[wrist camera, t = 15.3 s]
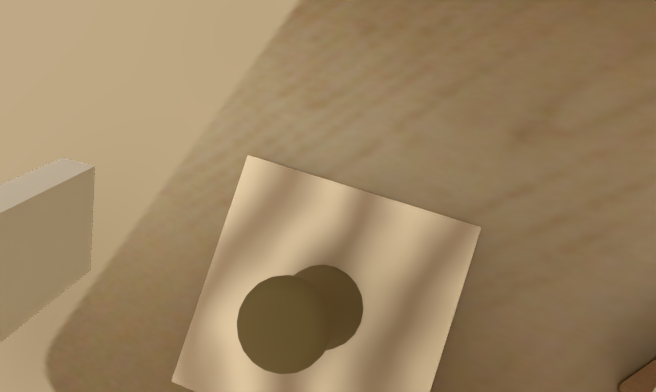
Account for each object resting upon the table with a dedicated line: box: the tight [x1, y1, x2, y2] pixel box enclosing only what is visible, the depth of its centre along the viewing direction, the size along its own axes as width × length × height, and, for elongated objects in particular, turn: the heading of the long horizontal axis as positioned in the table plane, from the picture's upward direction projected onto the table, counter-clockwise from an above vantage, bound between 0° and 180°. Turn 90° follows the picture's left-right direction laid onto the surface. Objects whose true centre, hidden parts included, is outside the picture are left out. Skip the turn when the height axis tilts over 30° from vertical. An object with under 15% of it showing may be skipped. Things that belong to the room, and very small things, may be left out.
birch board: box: [171, 155, 481, 392], centre depth 37 cm, size 18×18×2 cm
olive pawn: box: [237, 265, 363, 374], centre depth 31 cm, size 6×6×11 cm
